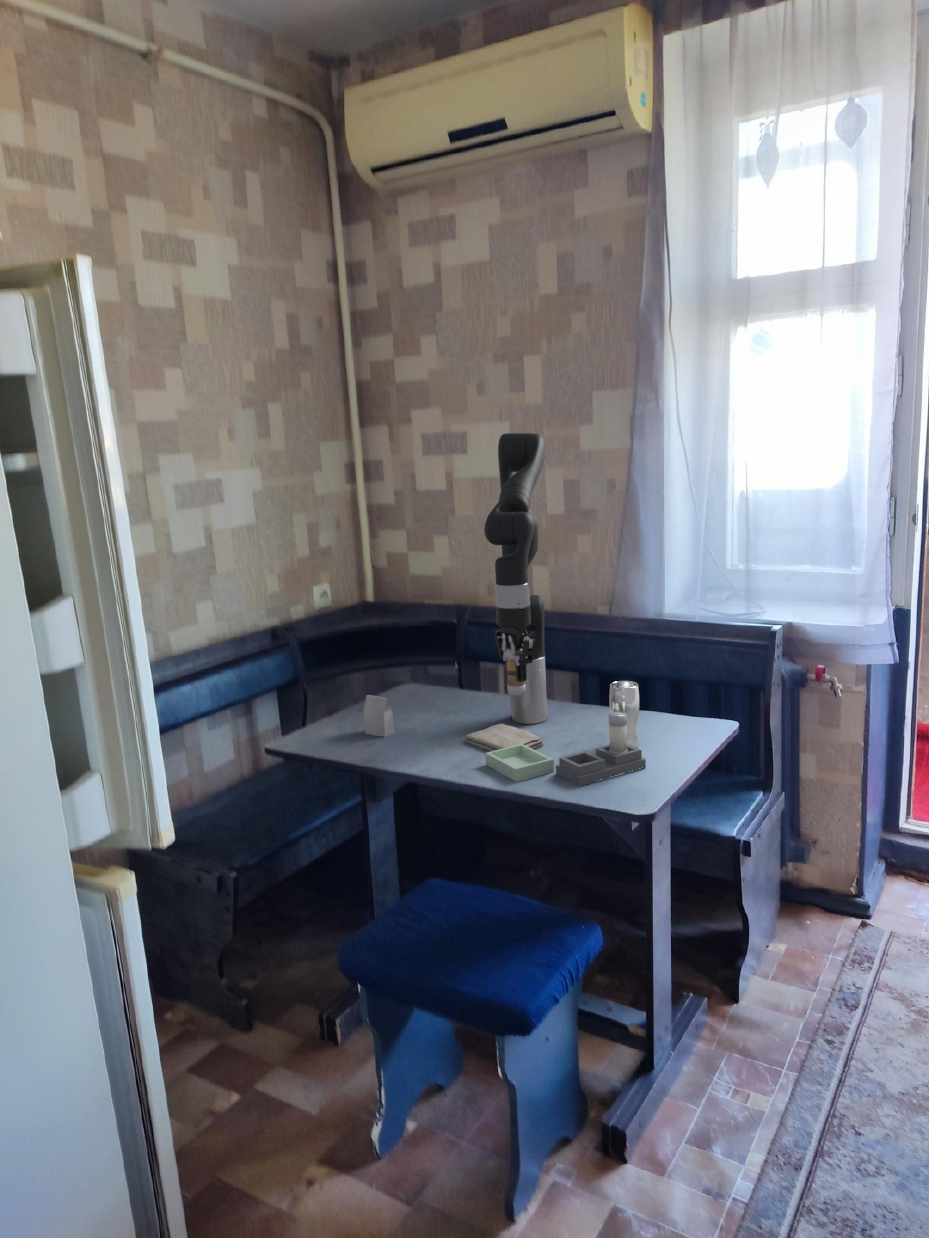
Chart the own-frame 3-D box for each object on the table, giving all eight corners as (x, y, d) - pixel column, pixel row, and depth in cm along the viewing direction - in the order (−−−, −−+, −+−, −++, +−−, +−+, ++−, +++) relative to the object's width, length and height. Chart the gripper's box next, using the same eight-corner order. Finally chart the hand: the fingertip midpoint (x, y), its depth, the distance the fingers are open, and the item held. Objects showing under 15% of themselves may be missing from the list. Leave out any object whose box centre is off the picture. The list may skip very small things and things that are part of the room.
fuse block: (556, 773, 201) (555, 756, 200) (620, 756, 210) (619, 739, 209) (580, 786, 193) (579, 768, 193) (645, 767, 202) (645, 750, 201)
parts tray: (486, 764, 209) (485, 752, 209) (522, 755, 214) (522, 743, 213) (516, 781, 198) (515, 769, 197) (554, 771, 203) (553, 759, 202)
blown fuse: (504, 692, 203) (502, 649, 201) (519, 689, 205) (517, 646, 203) (514, 696, 200) (512, 652, 198) (529, 692, 202) (527, 649, 200)
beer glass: (618, 751, 213) (616, 689, 210) (605, 742, 220) (604, 682, 217) (645, 747, 215) (644, 686, 212) (632, 738, 221) (631, 679, 218)
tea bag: (385, 737, 233) (382, 699, 231) (365, 733, 237) (362, 696, 235) (394, 732, 236) (391, 696, 234) (374, 729, 240) (371, 693, 238)
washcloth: (511, 760, 212) (510, 748, 212) (462, 743, 226) (461, 731, 225) (547, 747, 220) (546, 735, 219) (497, 731, 233) (497, 720, 233)
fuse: (605, 756, 204) (604, 714, 202) (619, 753, 206) (619, 711, 204) (617, 761, 201) (616, 718, 199) (631, 757, 203) (630, 715, 201)
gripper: (481, 601, 203) (485, 675, 206) (516, 610, 190) (519, 689, 194) (509, 596, 206) (513, 669, 210) (545, 605, 194) (548, 682, 198)
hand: (516, 678), depth 202 cm, fingers closed on blown fuse, 4 cm apart
